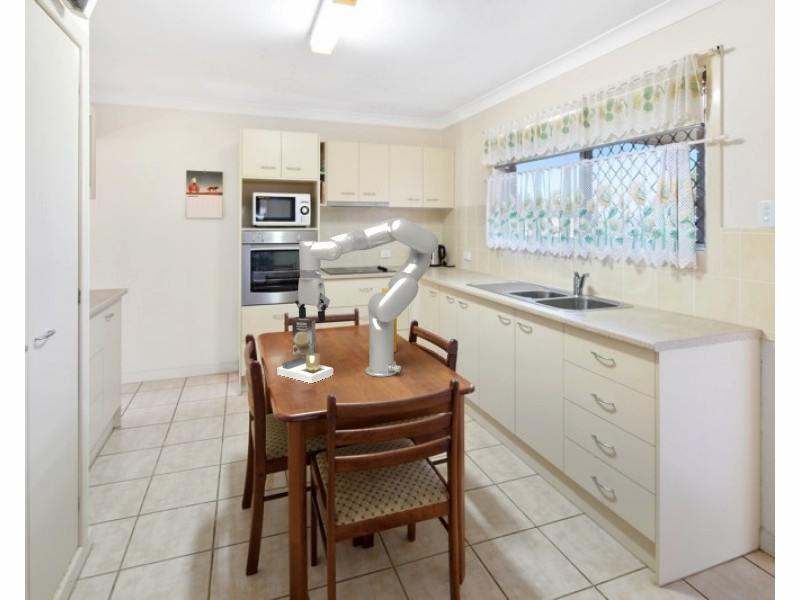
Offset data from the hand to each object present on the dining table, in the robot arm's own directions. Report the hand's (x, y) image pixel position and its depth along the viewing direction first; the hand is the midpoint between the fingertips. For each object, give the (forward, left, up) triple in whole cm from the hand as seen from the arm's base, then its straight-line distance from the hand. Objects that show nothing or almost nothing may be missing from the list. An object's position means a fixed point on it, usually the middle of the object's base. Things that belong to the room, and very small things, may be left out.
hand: (311, 319), depth 180 cm
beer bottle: (-3, -45, -23) cm, 50 cm away
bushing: (0, 0, -23) cm, 23 cm away
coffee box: (+25, -21, -23) cm, 40 cm away
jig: (+4, 0, -23) cm, 23 cm away
